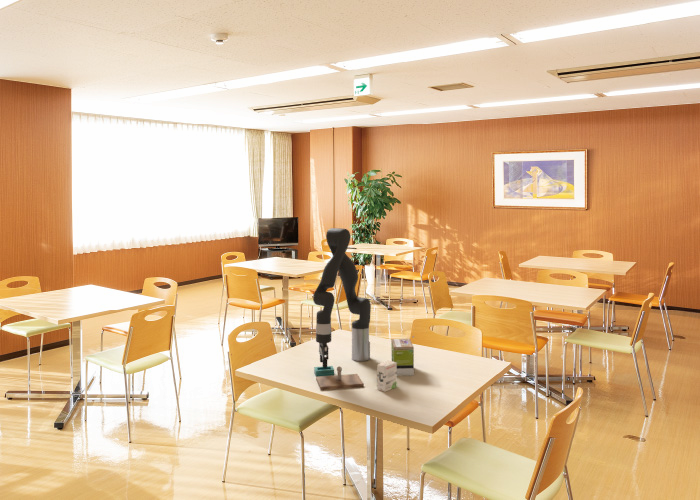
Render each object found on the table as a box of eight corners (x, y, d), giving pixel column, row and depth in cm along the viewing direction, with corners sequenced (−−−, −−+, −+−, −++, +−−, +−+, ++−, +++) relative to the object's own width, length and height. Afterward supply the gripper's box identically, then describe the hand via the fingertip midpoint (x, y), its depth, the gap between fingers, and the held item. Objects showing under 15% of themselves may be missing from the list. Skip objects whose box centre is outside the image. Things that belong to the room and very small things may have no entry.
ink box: (388, 384, 253) (388, 359, 252) (397, 387, 250) (397, 362, 248) (376, 389, 247) (376, 364, 246) (385, 392, 243) (385, 366, 242)
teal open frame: (332, 371, 271) (332, 365, 271) (334, 375, 266) (334, 369, 265) (314, 373, 270) (314, 367, 269) (316, 377, 264) (315, 370, 263)
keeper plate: (357, 376, 264) (357, 360, 263) (363, 386, 250) (363, 369, 249) (316, 379, 260) (315, 363, 259) (320, 390, 246) (320, 372, 245)
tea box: (390, 366, 280) (391, 338, 278) (410, 366, 280) (410, 337, 278) (393, 376, 265) (393, 346, 263) (414, 375, 265) (414, 346, 263)
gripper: (333, 335, 259) (333, 368, 260) (328, 328, 273) (328, 360, 274) (318, 335, 258) (318, 369, 259) (314, 329, 271) (313, 360, 273)
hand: (323, 364), depth 267 cm, fingers open, 8 cm apart
